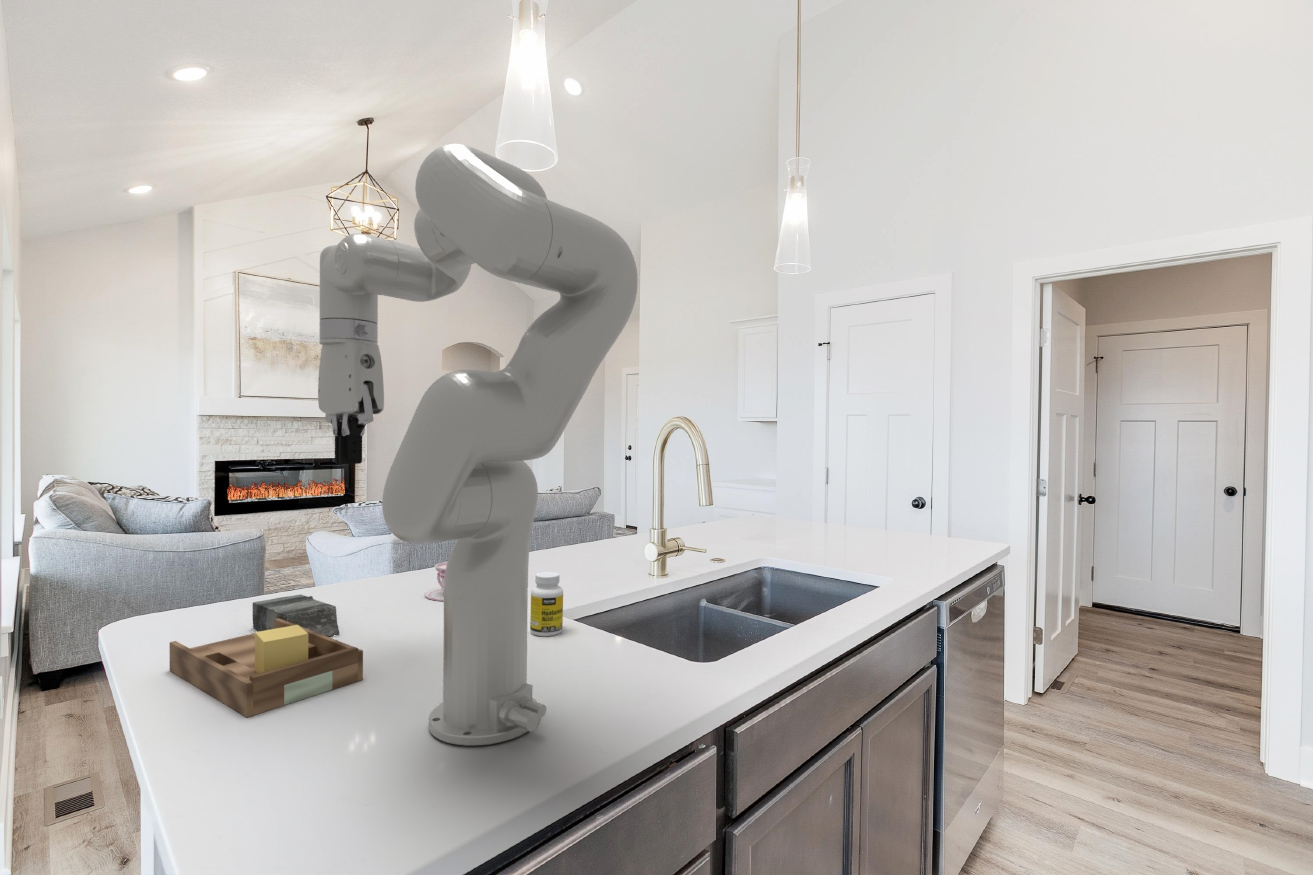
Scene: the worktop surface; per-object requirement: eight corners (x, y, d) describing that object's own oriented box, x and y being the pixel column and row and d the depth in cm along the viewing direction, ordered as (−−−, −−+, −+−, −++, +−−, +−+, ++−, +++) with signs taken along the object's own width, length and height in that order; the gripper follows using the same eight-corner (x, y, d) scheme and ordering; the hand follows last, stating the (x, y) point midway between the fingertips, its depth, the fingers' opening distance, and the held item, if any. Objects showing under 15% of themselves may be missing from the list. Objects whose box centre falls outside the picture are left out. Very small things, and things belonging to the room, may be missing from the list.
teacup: (453, 584, 141) (453, 556, 141) (497, 591, 136) (497, 562, 136) (411, 597, 130) (411, 567, 130) (458, 605, 125) (458, 573, 125)
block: (308, 671, 84) (308, 633, 84) (263, 681, 81) (264, 641, 80) (297, 661, 88) (297, 624, 88) (254, 670, 84) (255, 632, 84)
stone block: (307, 618, 116) (308, 589, 116) (344, 636, 107) (345, 604, 107) (251, 629, 109) (252, 598, 109) (286, 649, 100) (287, 615, 100)
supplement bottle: (540, 639, 106) (540, 579, 105) (524, 630, 110) (524, 573, 110) (568, 632, 109) (569, 574, 109) (552, 624, 113) (552, 569, 113)
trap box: (362, 679, 88) (363, 646, 88) (246, 717, 76) (246, 679, 76) (278, 643, 102) (278, 614, 102) (169, 670, 90) (169, 638, 90)
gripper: (403, 335, 91) (402, 464, 92) (346, 342, 100) (345, 460, 100) (352, 328, 85) (351, 467, 86) (296, 336, 94) (295, 462, 94)
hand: (348, 463), depth 93 cm, fingers closed
